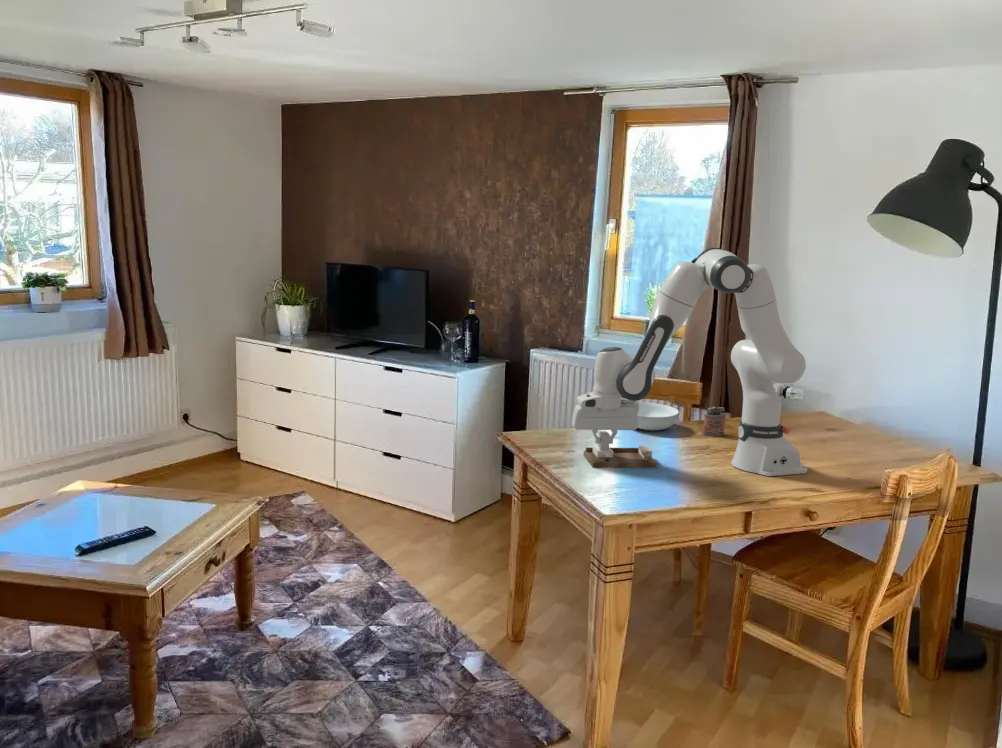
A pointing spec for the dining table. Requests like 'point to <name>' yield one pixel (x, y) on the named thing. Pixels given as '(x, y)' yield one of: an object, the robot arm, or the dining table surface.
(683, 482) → the dining table surface
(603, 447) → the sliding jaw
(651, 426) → the serving bowl
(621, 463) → the brown board with blocks
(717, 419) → the lighter
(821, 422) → the dining table surface
